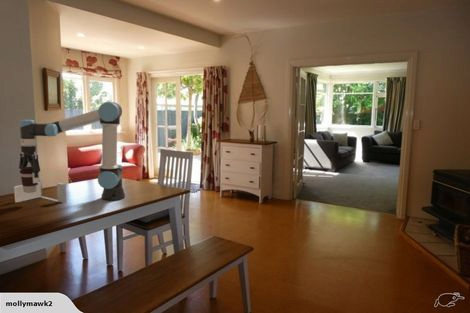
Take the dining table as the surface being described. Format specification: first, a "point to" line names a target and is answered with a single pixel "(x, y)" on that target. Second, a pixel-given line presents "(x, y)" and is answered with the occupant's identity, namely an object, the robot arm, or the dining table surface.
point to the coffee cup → (28, 180)
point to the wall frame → (59, 193)
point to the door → (23, 196)
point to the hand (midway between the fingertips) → (30, 181)
